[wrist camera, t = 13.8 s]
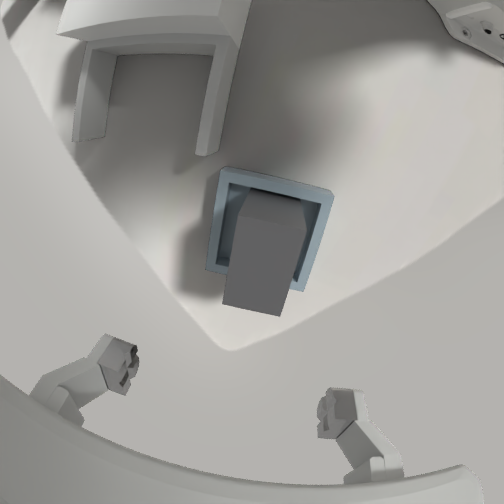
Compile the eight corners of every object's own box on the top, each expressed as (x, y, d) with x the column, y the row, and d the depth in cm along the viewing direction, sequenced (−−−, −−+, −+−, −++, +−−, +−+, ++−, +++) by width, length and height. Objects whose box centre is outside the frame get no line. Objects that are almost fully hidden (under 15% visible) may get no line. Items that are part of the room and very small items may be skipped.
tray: (330, 190, 28) (334, 196, 25) (302, 279, 33) (303, 291, 30) (225, 166, 28) (220, 170, 26) (210, 259, 33) (205, 269, 30)
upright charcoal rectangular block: (300, 197, 28) (307, 230, 20) (281, 265, 31) (280, 316, 23) (250, 186, 28) (237, 214, 20) (237, 255, 31) (221, 303, 23)
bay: (253, -5, 19) (239, -53, 10) (218, 150, 27) (187, 165, 18) (126, -1, 19) (77, -27, 10) (98, 136, 27) (39, 149, 18)
